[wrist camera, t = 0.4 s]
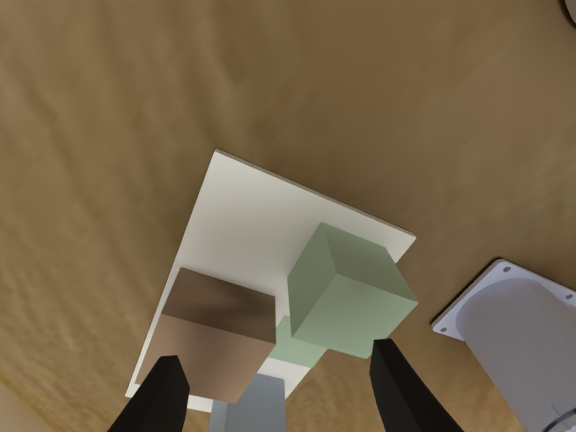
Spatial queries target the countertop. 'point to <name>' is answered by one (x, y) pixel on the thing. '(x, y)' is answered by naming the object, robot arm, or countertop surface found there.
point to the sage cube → (346, 293)
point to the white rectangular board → (264, 249)
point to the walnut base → (213, 334)
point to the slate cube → (253, 408)
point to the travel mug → (571, 8)
